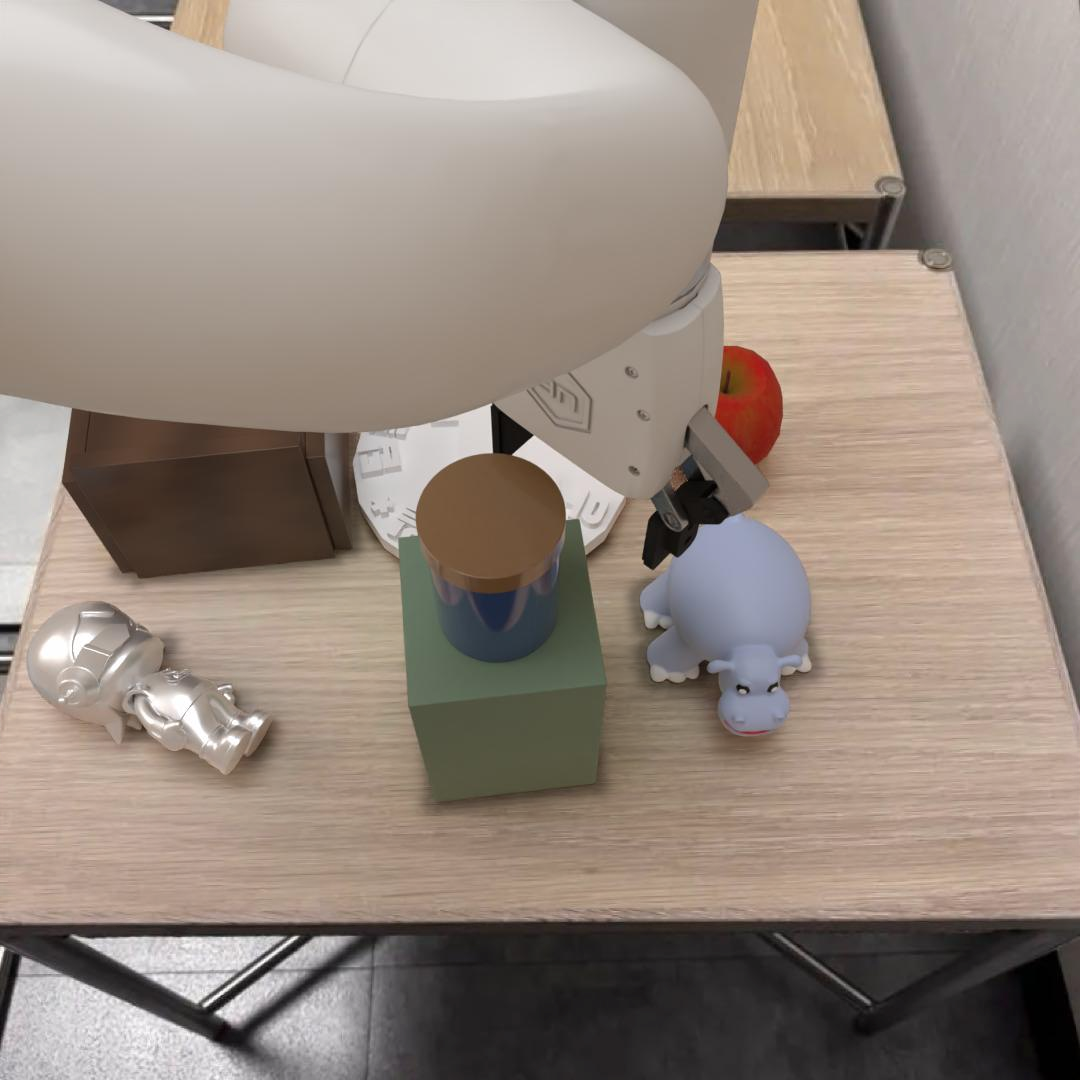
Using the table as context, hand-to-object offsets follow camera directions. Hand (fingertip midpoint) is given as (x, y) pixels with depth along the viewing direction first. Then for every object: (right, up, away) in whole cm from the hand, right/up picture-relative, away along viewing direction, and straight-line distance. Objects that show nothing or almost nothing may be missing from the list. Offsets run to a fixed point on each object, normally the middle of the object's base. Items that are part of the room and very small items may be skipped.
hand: (590, 492), depth 53 cm
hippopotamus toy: (+10, -10, +18) cm, 23 cm away
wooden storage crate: (-25, +5, +27) cm, 37 cm away
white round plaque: (-6, +2, +26) cm, 26 cm away
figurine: (-27, -14, +16) cm, 34 cm away
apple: (+10, +3, +26) cm, 28 cm away
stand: (-5, -14, +15) cm, 21 cm away
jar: (-5, -6, +3) cm, 8 cm away
